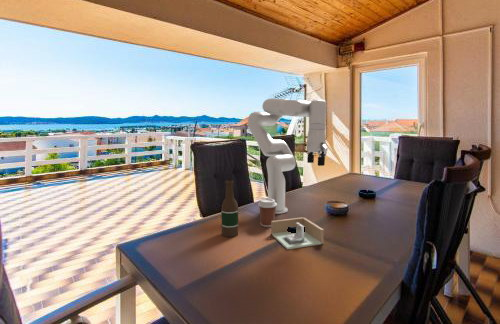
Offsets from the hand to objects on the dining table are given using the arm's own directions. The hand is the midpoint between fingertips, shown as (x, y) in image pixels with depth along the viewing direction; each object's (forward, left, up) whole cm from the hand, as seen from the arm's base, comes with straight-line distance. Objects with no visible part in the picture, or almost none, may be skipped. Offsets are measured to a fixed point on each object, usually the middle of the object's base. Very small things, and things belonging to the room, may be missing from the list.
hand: (315, 164), depth 126 cm
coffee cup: (-7, -22, -30) cm, 37 cm away
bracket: (+15, -19, -28) cm, 37 cm away
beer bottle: (-1, -42, -30) cm, 51 cm away
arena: (+13, -17, -29) cm, 36 cm away
